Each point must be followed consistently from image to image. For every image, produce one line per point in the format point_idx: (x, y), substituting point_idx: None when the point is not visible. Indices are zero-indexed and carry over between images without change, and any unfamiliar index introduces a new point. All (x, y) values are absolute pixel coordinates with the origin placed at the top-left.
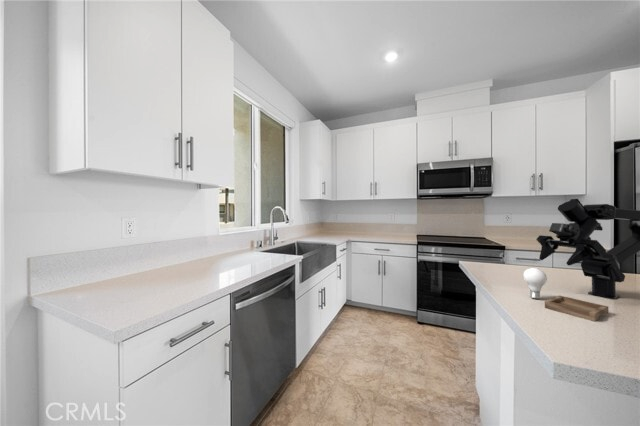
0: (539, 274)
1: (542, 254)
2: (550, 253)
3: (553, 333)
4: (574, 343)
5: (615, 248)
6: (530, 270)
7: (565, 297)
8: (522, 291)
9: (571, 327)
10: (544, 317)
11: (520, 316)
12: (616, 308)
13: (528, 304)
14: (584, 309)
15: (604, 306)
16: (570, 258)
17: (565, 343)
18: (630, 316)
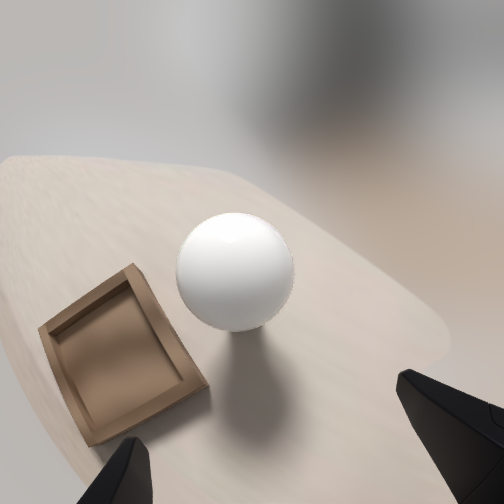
0: (178, 254)
1: (428, 398)
2: (460, 493)
3: (34, 192)
4: (10, 202)
5: None
6: (216, 219)
7: (178, 387)
8: (350, 320)
9: (38, 243)
10: (84, 221)
11: (99, 173)
12: None
13: (175, 241)
14: (97, 372)
15: (86, 433)
16: (112, 478)
17: (14, 190)
18: None
